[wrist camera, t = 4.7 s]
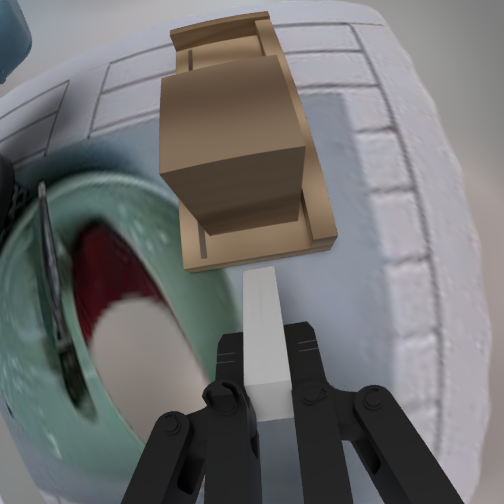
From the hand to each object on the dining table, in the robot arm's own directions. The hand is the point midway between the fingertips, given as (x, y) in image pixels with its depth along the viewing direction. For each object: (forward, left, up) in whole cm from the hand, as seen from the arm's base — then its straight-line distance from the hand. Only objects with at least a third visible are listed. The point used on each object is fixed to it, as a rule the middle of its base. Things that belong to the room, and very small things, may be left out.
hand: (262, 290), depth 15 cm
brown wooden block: (-6, +5, -4) cm, 9 cm away
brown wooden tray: (-11, +9, -6) cm, 16 cm away
